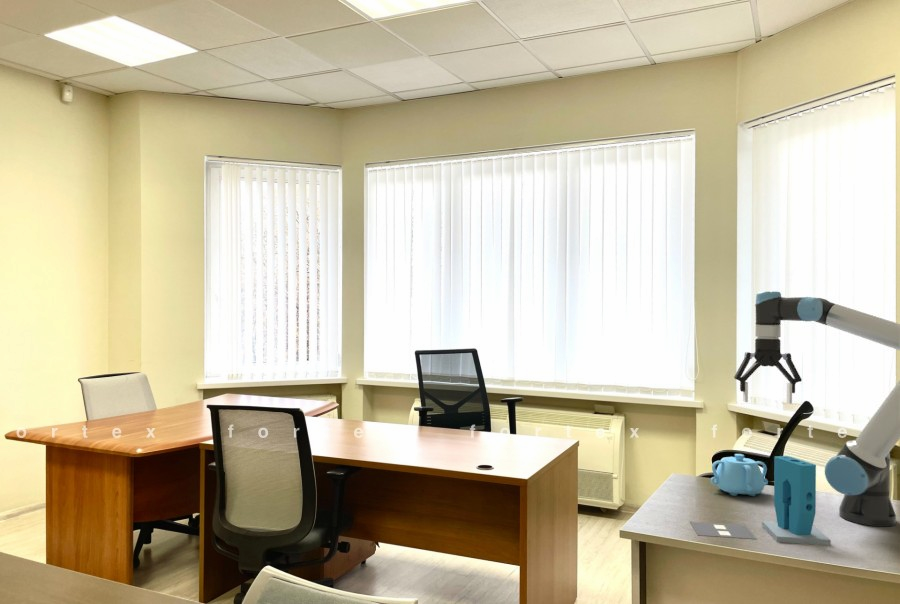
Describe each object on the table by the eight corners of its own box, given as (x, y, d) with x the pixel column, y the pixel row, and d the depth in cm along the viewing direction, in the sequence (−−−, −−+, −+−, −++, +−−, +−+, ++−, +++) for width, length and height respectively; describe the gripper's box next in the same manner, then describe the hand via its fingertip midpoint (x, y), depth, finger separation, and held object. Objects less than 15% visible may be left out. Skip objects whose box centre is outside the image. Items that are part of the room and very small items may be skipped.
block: (816, 536, 186) (817, 465, 187) (801, 537, 185) (802, 465, 186) (787, 522, 198) (787, 455, 198) (772, 523, 197) (772, 456, 197)
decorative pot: (748, 501, 225) (748, 461, 225) (705, 490, 238) (706, 452, 238) (772, 494, 235) (773, 456, 235) (730, 484, 248) (731, 447, 248)
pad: (811, 528, 198) (811, 523, 198) (830, 545, 184) (830, 539, 184) (761, 525, 200) (761, 520, 200) (776, 541, 186) (776, 536, 186)
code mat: (745, 526, 200) (745, 525, 200) (756, 539, 188) (756, 538, 188) (689, 522, 202) (689, 521, 202) (697, 536, 190) (697, 534, 190)
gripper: (804, 338, 221) (803, 402, 220) (725, 336, 225) (724, 399, 225) (812, 339, 213) (812, 405, 213) (730, 337, 217) (730, 402, 217)
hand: (767, 402), depth 219 cm, fingers open, 13 cm apart
